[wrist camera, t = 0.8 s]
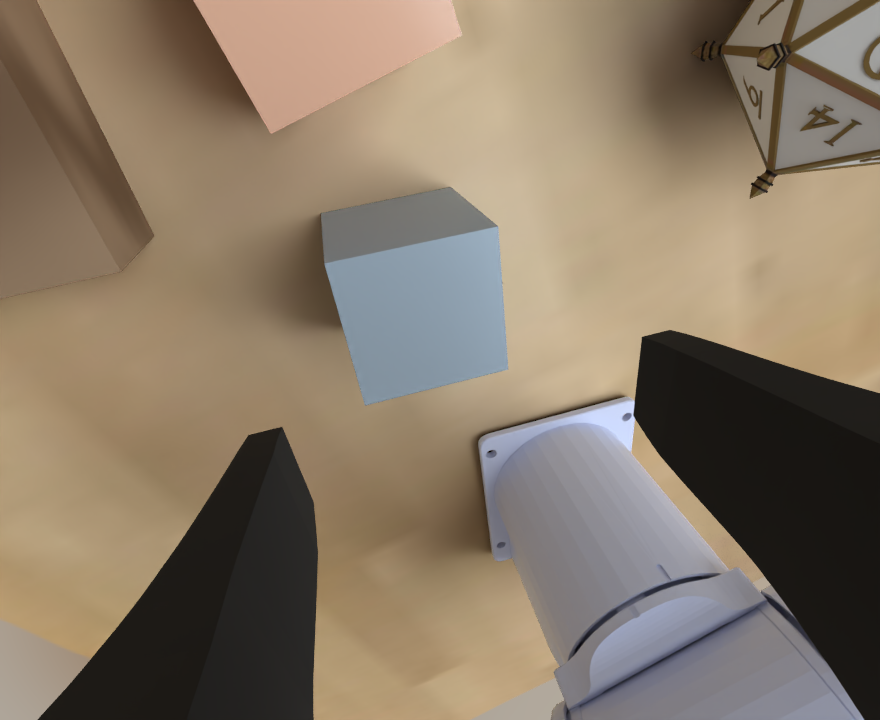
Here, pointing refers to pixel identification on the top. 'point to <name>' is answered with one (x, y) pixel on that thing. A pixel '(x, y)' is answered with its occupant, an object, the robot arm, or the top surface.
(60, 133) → the walnut base
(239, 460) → the robot arm
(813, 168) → the game die
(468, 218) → the slate block
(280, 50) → the terracotta block
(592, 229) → the top surface
